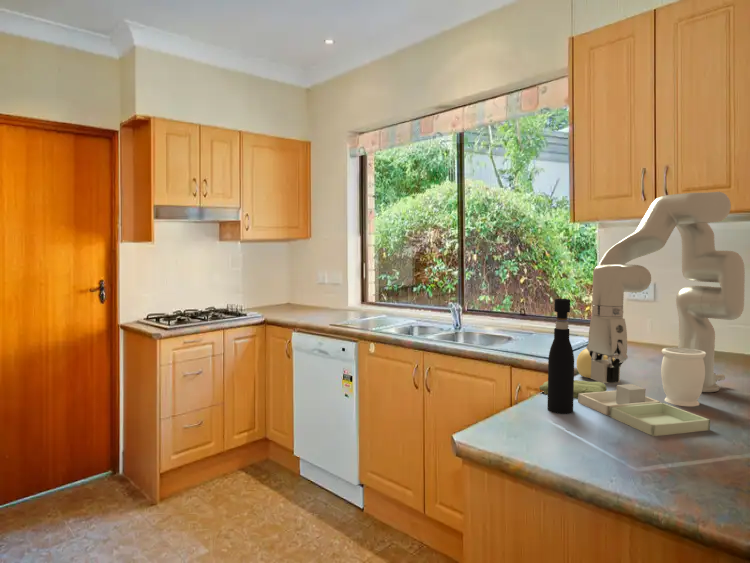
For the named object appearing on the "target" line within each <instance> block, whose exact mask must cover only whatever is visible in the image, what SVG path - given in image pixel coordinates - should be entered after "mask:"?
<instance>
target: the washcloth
mask: <svg viewBox="0 0 750 563" xmlns="http://www.w3.org/2000/svg"><path fill="white" fill-rule="evenodd" d="M539 390H540V391H542V392H543V394H544V395H548V380H547V381H544V382H543V384H542V385H539ZM604 391H608V389H607V385H606V383H601V382H599V381H586V380H577V379H574V397H573V399H574V398H575V399H578V394H579V393H592V392H604Z"/></svg>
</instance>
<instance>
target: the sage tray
mask: <svg viewBox="0 0 750 563" xmlns="http://www.w3.org/2000/svg"><path fill="white" fill-rule="evenodd" d="M609 417H610V418H612V419H614V420H616V421H618V422H621V423H623V424H626V425H627V426H629V427H632V428H634V429H636V430H638V431H640V432H642V433H644V434H647V435H649V436H651V437H660V436H670V435H675V434H676V435H677V434H679V435H680V434H686V433H694V432H695V433H696V432H704V431H710V430H711V419H709V418H706V417H704V416H701V415H698V414H695V413H693V412H691V411H686V410H684V409H682V408H680V407H676V406H673V405H672V404H669V403H668V404H667V403H665V402H660V403H654V404H643V405H632V406H621V407H611V410H610V416H609Z"/></svg>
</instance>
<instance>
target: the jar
mask: <svg viewBox="0 0 750 563" xmlns="http://www.w3.org/2000/svg"><path fill="white" fill-rule="evenodd" d="M661 353H662V354H663V357H662V361H661V366H660V376H661V382H662V388H663V392H664V394H665V395H666V397H665V398H664V402H666V403H668V404H669V405H675V406H679V407H680V406H682V407H697V406H700V402H699V399H700V396H701V394H702V393H703V392H702V388H703V384H704V380H705V365H704V360H703V358H704V357H705V356H706V353H705V352H704V351H700V350H695V349H688V348H678V347H664V348H661Z"/></svg>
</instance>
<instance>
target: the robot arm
mask: <svg viewBox="0 0 750 563" xmlns="http://www.w3.org/2000/svg"><path fill="white" fill-rule="evenodd" d="M731 205H732V204H731V200H730V198H729V196H728V195H727V194H726V193H725V192H722V191H713V192H712V191H710V192H689V193H687V192H686V193H675V194H666V195H662V196H659V197H656V198H655V199H654V200H653V201H652V202H651V204H650V205H649V207H648V209H647V210H646V212H645V214H644V215H643V217H642V219H641V221H640V222H639V224H638V226H637V227H636V229H635V231H634V232H632V233H631V234H629V235H628V236H626V237H625V238H623V239H622V240H620V241H618V242H617V243H615V244H614V245H613V246H611V247H610V248H609V249H608V250H607V251H606V252H605V253H604V255H603V257H601V259H600V261H599V263H598V265H596V266H595V267H593V268H594V269H593V273H592V275H593V276H592V303H591V309H592V310H591V317H590V322H589V329H588V344H587V345H586V348H587V350H588V351H589V353H590V356H591V360H603V357H604V355H606V356H608V363H609V367H607V382H609V384H611V383H613V382H614V383H619V382H618V381H619V367H620V368H621V367H622V364H623V363H624V362H626V360H628V359H629V358H628V331H627V325H626V319H625V318H624V296H625V295H624V293H633V294H634V293H635V294H637V293H641V292H644V291H645V290H647V289H648V288H649V286H651V282H652V274H651V273H650V271H649V269H647V267H645V266H643V265H640V264H627V263H629V262H631V261H633V260H635V259H638V258H641V257H644V256H648V255H650V254H652V253H656V252H658V251H660V250H662V249H663V248H664V247H665V245H666V244H667V242H668V240H669V238H670V237H671V234H672V233H673V232H674V230H675V228H676V229H677V230H678V232H679V234H680V235H679V236H680V237H681V271H682V276H683V277H684V279H686V280H688V281H691V282H699V283H700V282H702V283H717V284H719V285H720V286H710V285H709V286H708V285H705V286H704V285H688V286H685V287H682V288H681V289H680V290H678V292H677V294H676V297H675V302H676V304H675V306H676V309H677V316H678V347H677V348H688V349H695V350H700V351H704V352H705V353H706V356H705V357H704V358H703V360H704V365H705V380H704V384H703V388H702V393H714V392H718V391H719V390H720V385H718V384H717V383H716V382H717V381H719V382H720V381H725V380H726V376H725V374H722V373H721V374H716V373H714V371H715V346H716V345H715V344H716V343H715V342H716V331H715V329H714V326H713V324H712V323H711V321H710V320H709V319H715V320H716V319H717V320H725V321H732V320H733V321H734V320H737V319H739V318H740V317H741V316H742V314H743V313H744V312H743V311H744V308H745V281H746V280H745V279H746V278H745V277H746V276H745V263H744V260H743V258H742V255H740V254H739V253H738V252H736V251H733V250H716V247H715V233H714V231H713V228H712V227H711V226H710V224H711V223H716V222H717V223H719V222H722V221H724V220H725V219H726V218H727V217H728V216H729V214H730V212H731V208H732V206H731ZM709 223H710V224H709ZM586 348H585V349H586ZM598 354H599V355H598ZM613 358H615V360H614V361H613ZM614 383H613V384H614Z"/></svg>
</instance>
